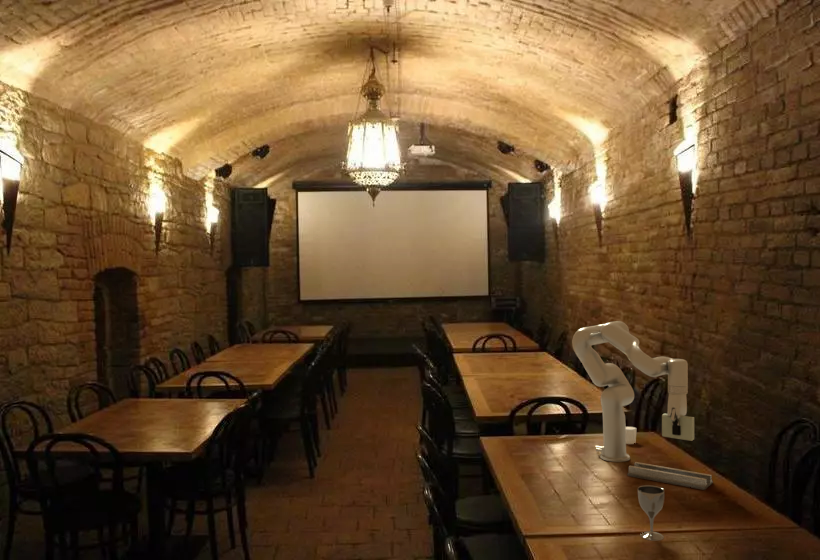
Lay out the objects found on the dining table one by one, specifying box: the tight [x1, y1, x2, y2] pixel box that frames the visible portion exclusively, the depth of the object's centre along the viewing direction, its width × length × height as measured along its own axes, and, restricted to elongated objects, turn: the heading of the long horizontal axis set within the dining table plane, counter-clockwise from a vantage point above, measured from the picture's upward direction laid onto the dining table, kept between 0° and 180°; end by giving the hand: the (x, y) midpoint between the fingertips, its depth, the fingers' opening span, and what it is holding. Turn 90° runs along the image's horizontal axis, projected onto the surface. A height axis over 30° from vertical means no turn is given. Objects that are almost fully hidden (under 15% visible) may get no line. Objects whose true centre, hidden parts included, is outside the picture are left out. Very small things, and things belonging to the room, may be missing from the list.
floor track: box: [626, 461, 714, 491], centre depth 271 cm, size 30×10×4 cm, turn 50°
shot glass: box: [626, 426, 637, 445], centre depth 325 cm, size 7×7×7 cm
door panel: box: [661, 413, 695, 442], centre depth 280 cm, size 12×3×9 cm, turn 50°
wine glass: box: [637, 484, 665, 542], centre depth 217 cm, size 8×8×15 cm
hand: (678, 433), depth 280 cm, fingers closed on door panel, 3 cm apart
